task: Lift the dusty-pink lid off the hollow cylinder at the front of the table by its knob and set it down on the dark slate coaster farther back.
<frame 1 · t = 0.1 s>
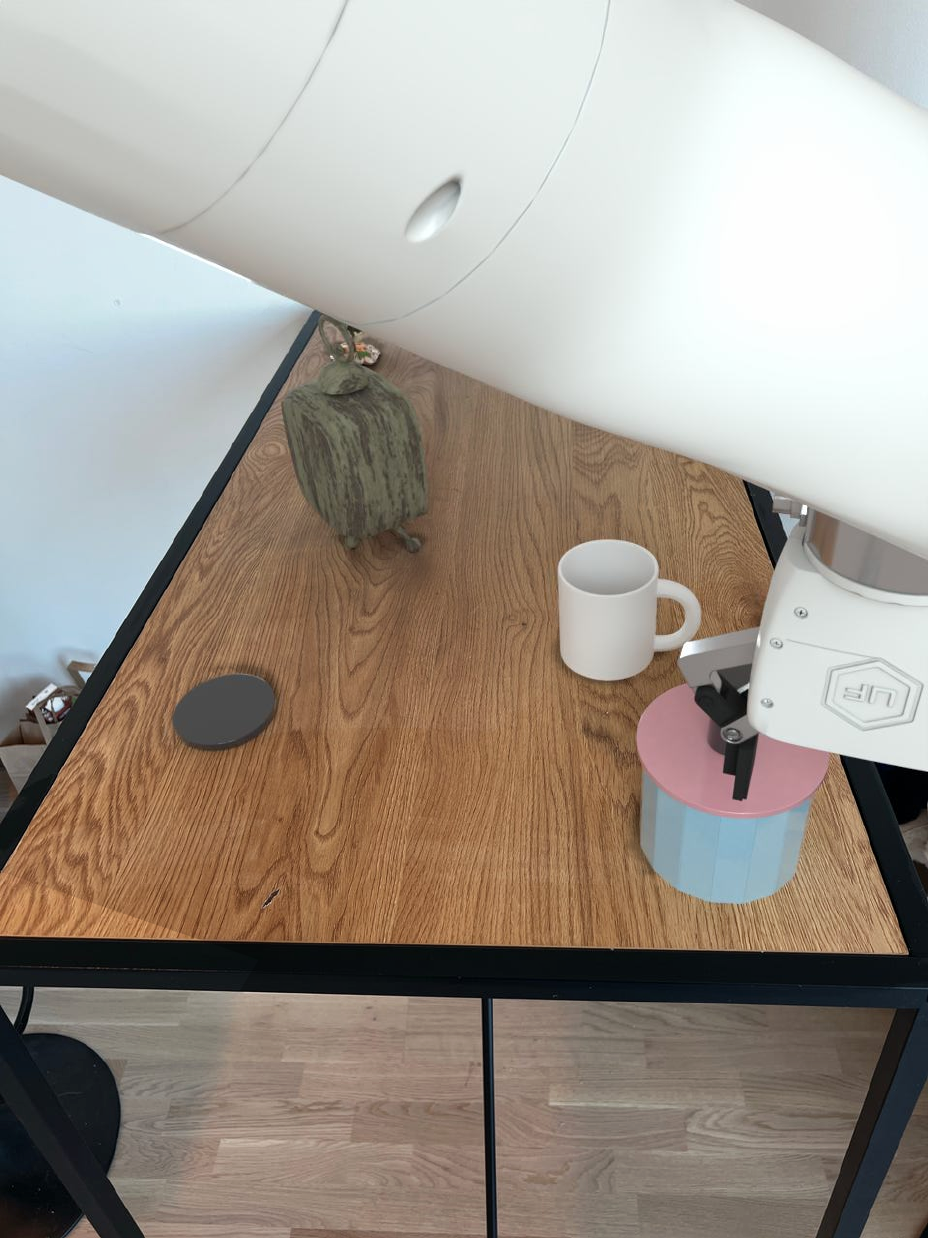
hand: (838, 802, 48), 17 cm above the table, tool pointing down, fingers open, 9 cm apart
coffee press: (533, 348, 141), on the table
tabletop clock: (368, 541, 103), on the table
coaster: (226, 714, 83), on the table
mug: (627, 663, 84), on the table
hollow cylinder: (717, 848, 67), on the table
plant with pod: (356, 357, 144), on the table
lid: (730, 746, 61), point 10 cm above the table, touching hollow cylinder
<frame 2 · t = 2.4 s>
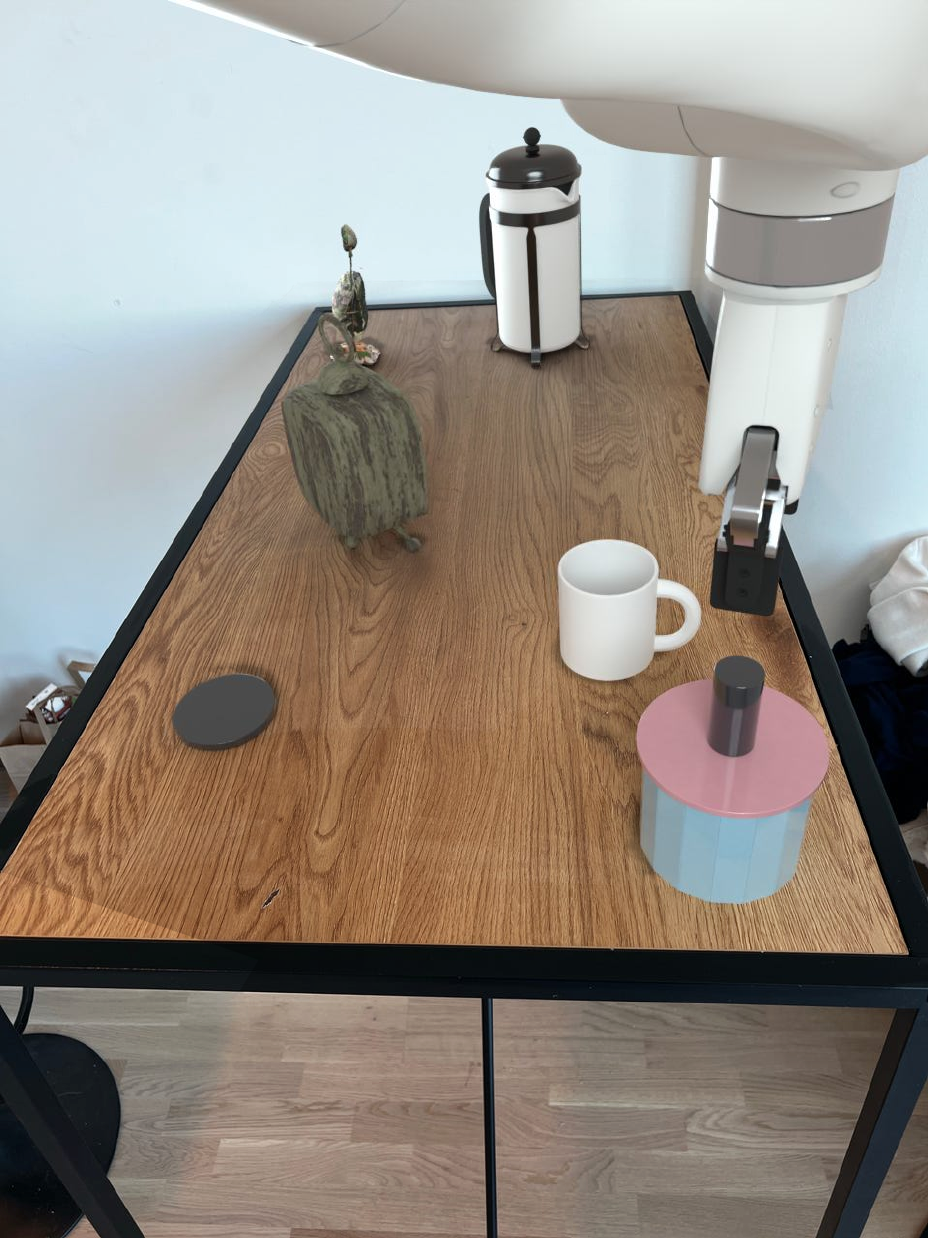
hand: (755, 556, 52), 25 cm above the table, tool pointing down, fingers open, 9 cm apart
nothing on the table moved.
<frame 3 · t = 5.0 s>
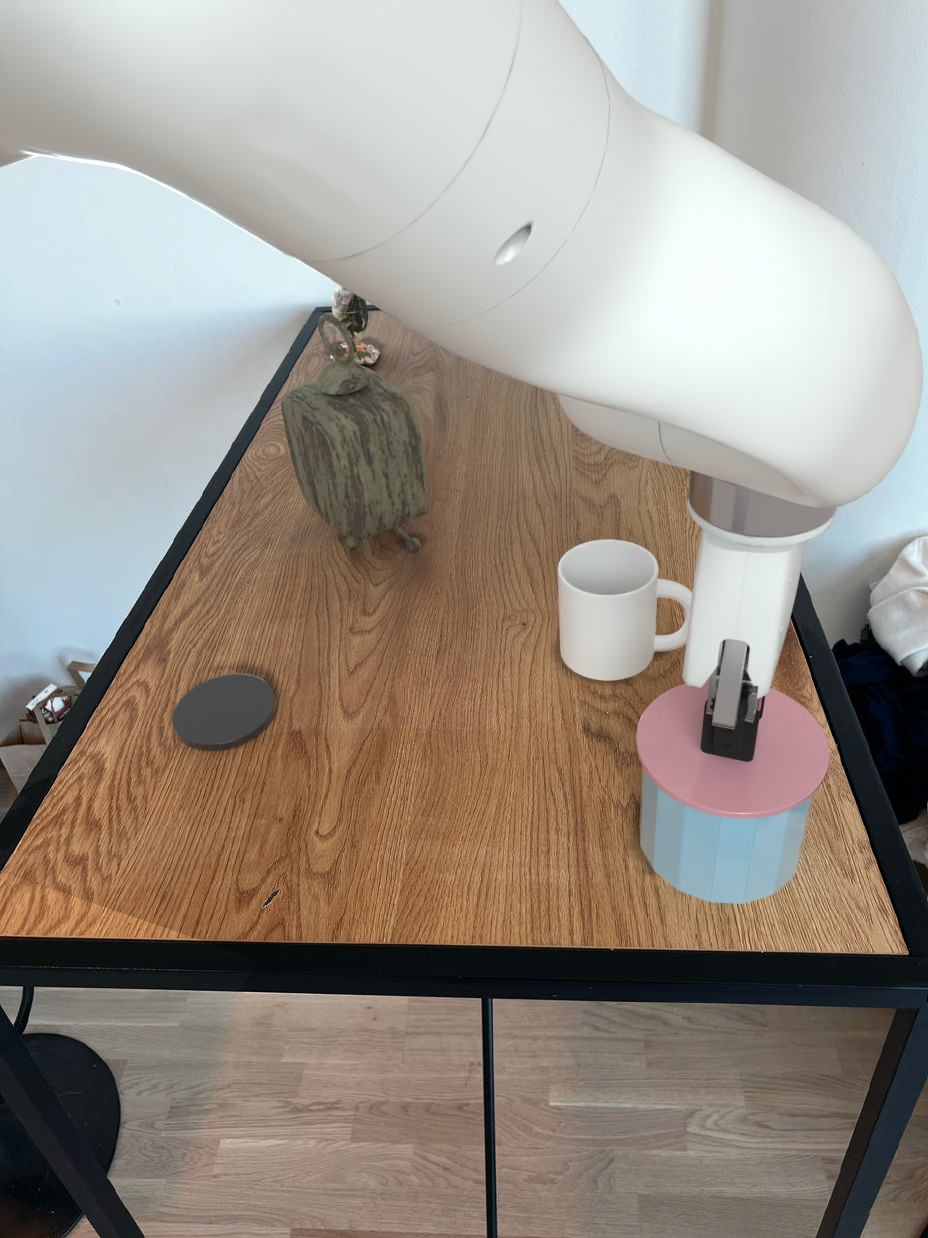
hand: (732, 731, 60), 12 cm above the table, tool pointing down, fingers closed on lid, 3 cm apart
lid: (730, 746, 61), point 11 cm above the table, touching gripper, hollow cylinder
everything else where it was.
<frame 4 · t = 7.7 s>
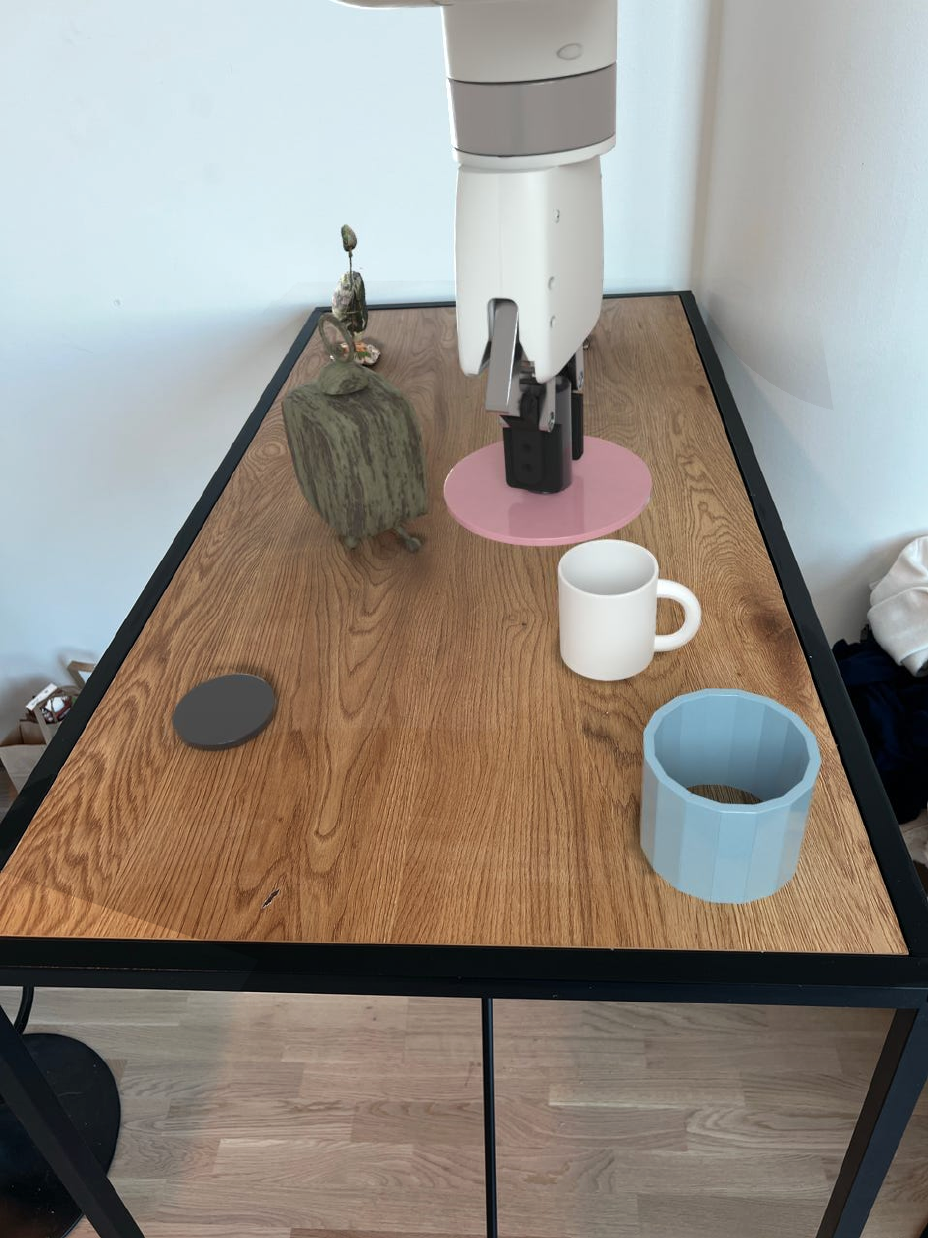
hand: (545, 468, 54), 29 cm above the table, tool pointing down, fingers closed on lid, 3 cm apart
lid: (546, 488, 55), point 28 cm above the table, touching gripper
everything else where it was.
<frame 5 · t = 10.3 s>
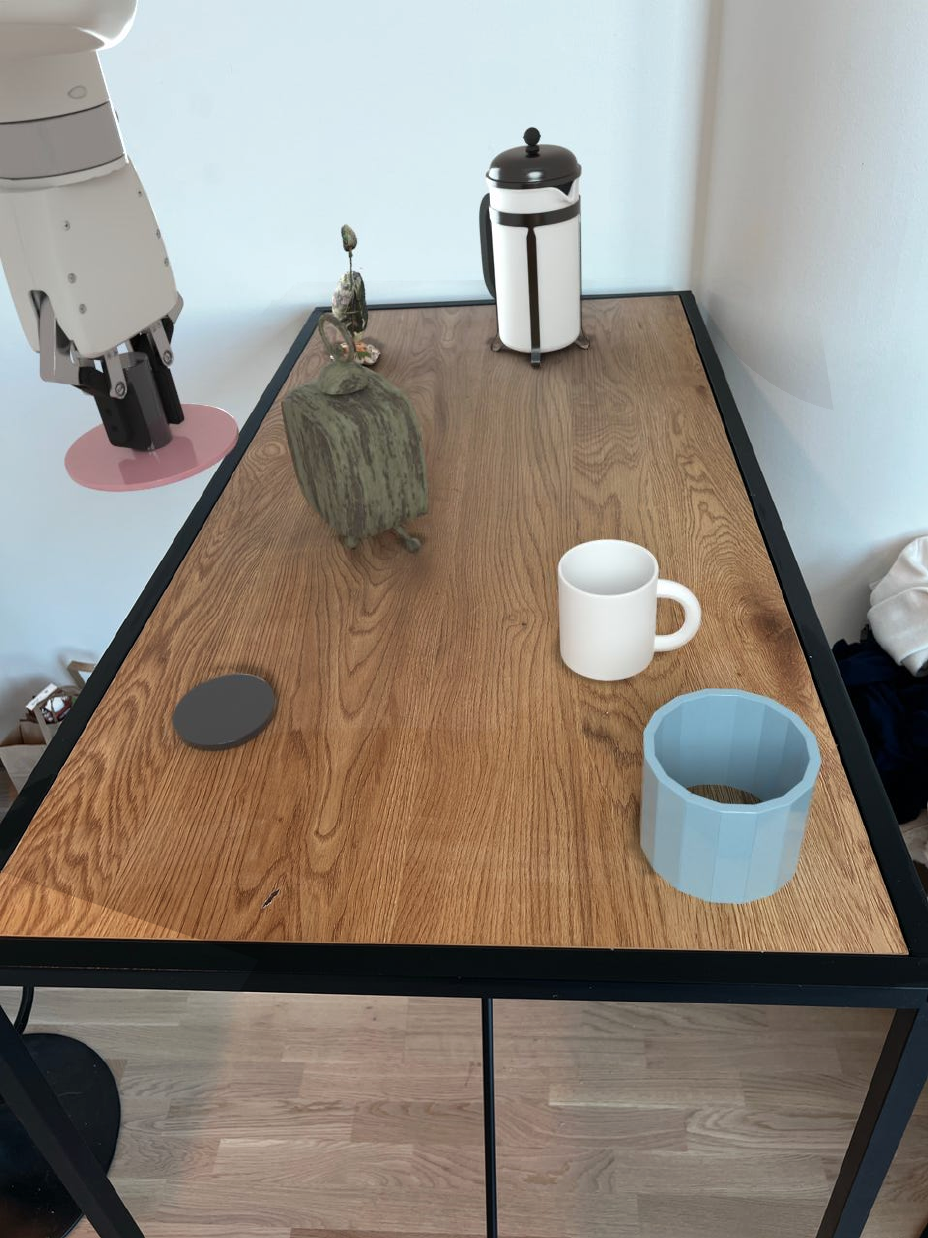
hand: (148, 431, 65), 28 cm above the table, tool pointing down, fingers closed on lid, 3 cm apart
lid: (153, 447, 66), point 26 cm above the table, touching gripper
everything else where it was.
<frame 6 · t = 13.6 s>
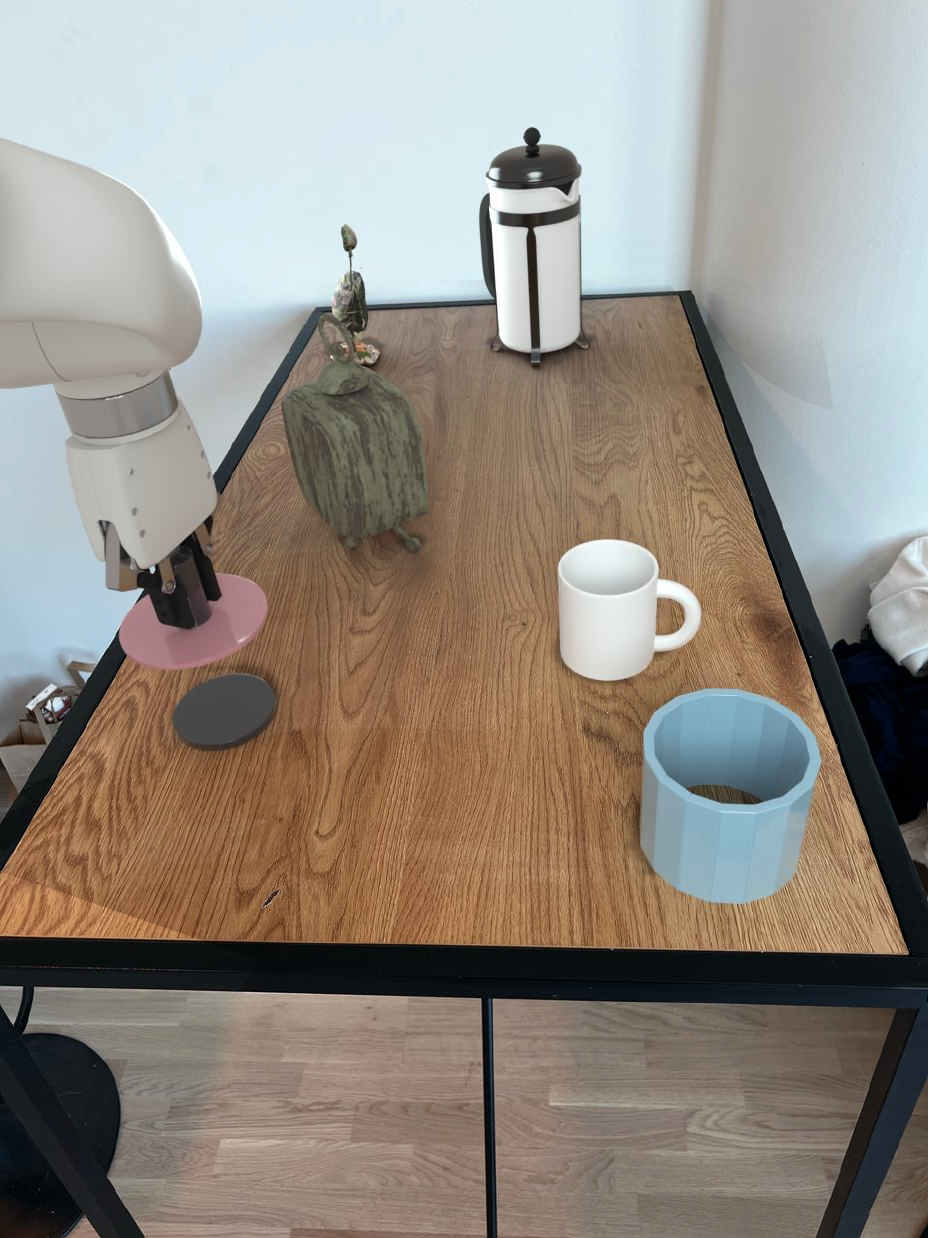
hand: (191, 609, 76), 12 cm above the table, tool pointing down, fingers closed on lid, 3 cm apart
lid: (195, 621, 77), point 10 cm above the table, touching gripper
everything else where it was.
when the fingers open (3 cm above the table, at t = 15.9 s): lid stays where it is, resting on coaster.
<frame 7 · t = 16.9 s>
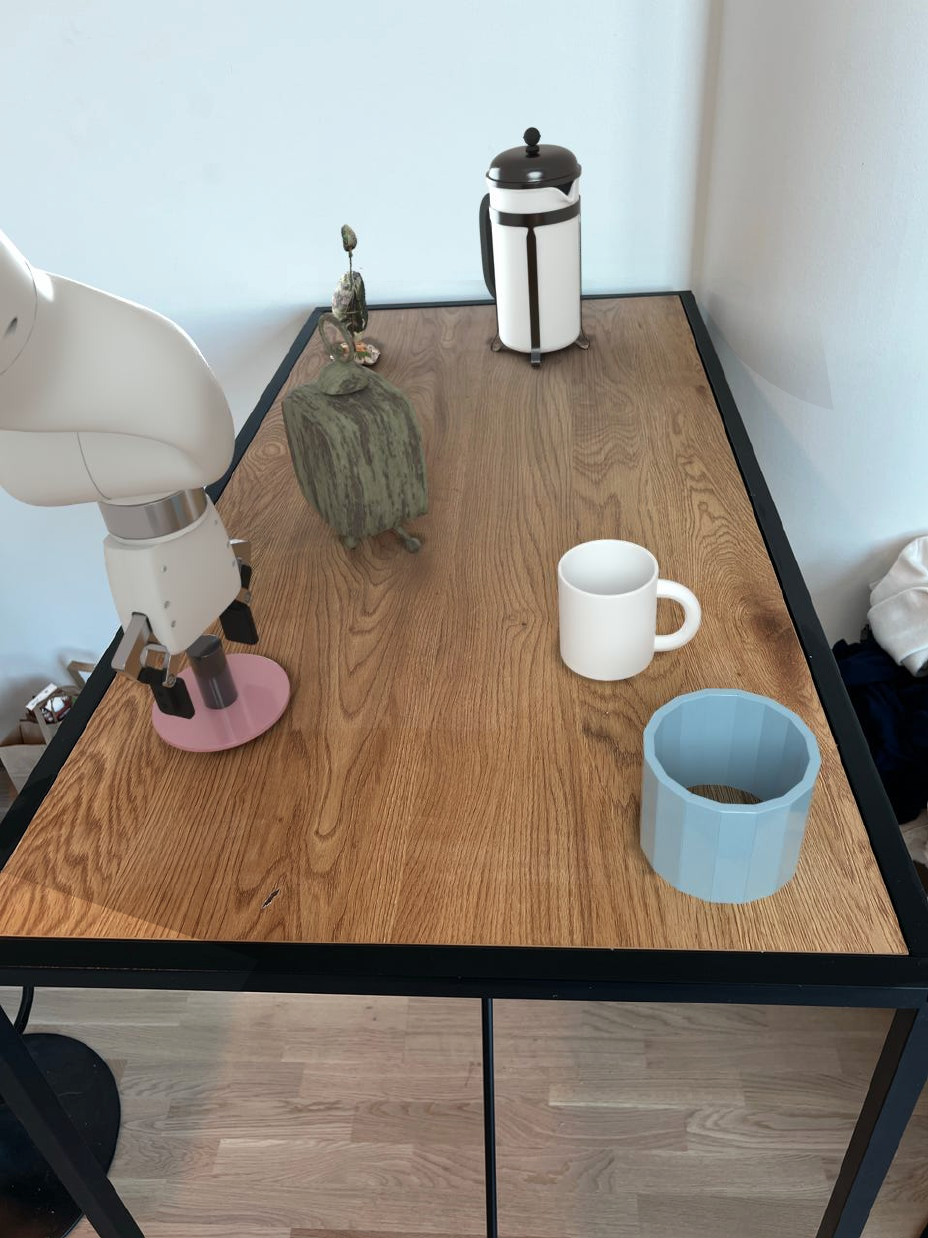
hand: (212, 675, 80), 5 cm above the table, tool pointing down, fingers open, 9 cm apart
lid: (222, 702, 82), point 1 cm above the table, touching coaster
everything else where it was.
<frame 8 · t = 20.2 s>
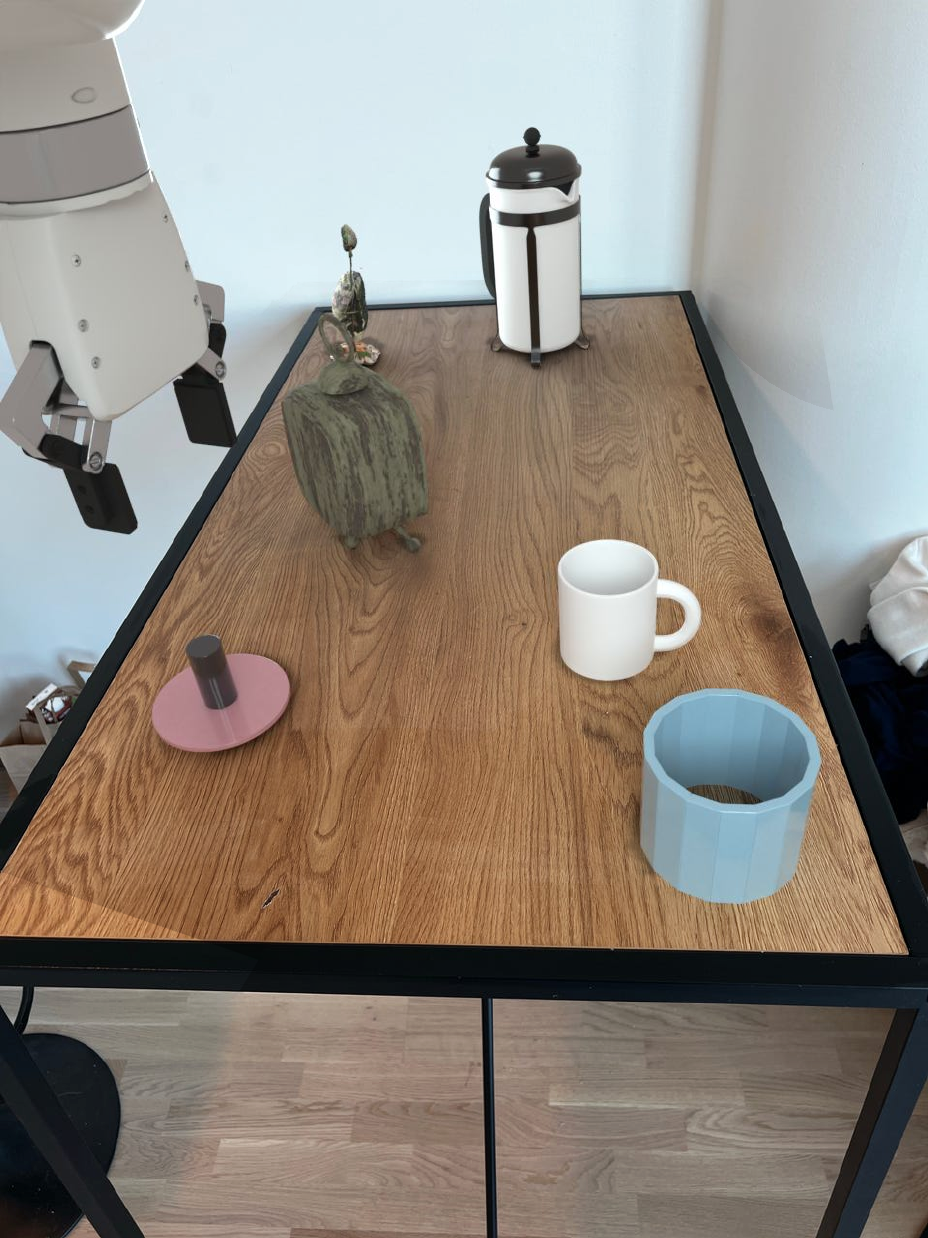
hand: (166, 483, 54), 30 cm above the table, tool pointing down, fingers open, 9 cm apart
nothing on the table moved.
at the end: lid 0.0 cm off-centre on the coaster, point 1.4 cm above the coaster's base; lid tilted 0°; lid touching coaster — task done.
